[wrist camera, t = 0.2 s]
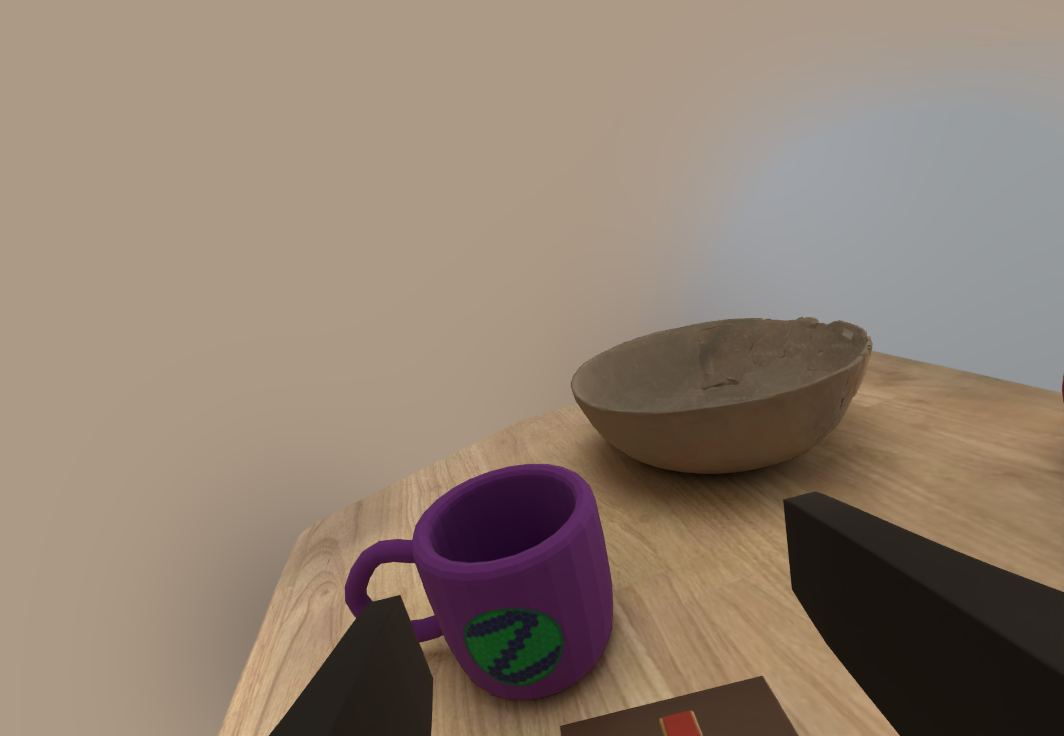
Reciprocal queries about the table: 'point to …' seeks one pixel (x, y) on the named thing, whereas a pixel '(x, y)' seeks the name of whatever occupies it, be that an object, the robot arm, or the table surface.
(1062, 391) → the apple
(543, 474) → the mug
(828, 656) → the table surface
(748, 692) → the lock plate
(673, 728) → the block with red patch
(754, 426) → the bowl
